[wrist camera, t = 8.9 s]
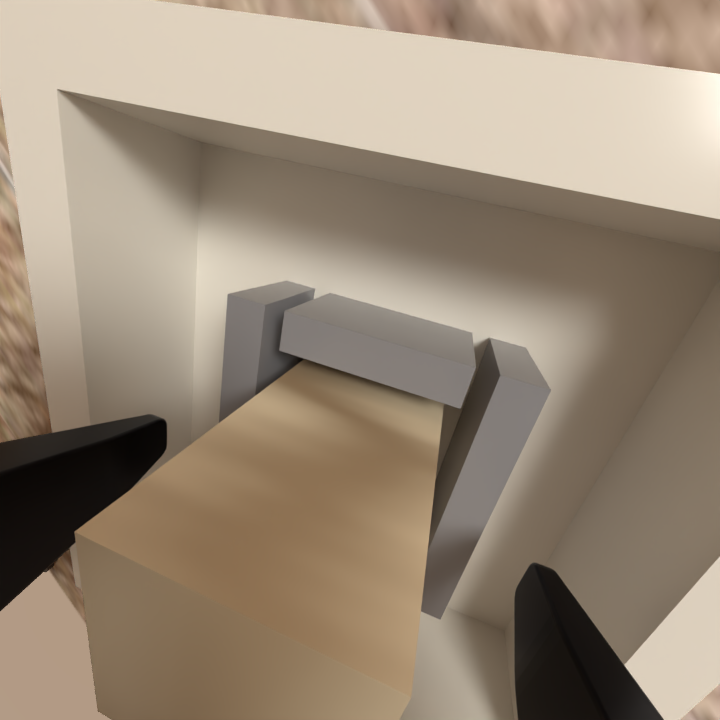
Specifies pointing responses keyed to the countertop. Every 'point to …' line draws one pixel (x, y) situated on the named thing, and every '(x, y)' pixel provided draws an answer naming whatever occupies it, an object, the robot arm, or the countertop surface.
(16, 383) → the countertop surface
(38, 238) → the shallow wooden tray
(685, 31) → the countertop surface
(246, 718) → the wooden block
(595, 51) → the countertop surface
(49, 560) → the robot arm
